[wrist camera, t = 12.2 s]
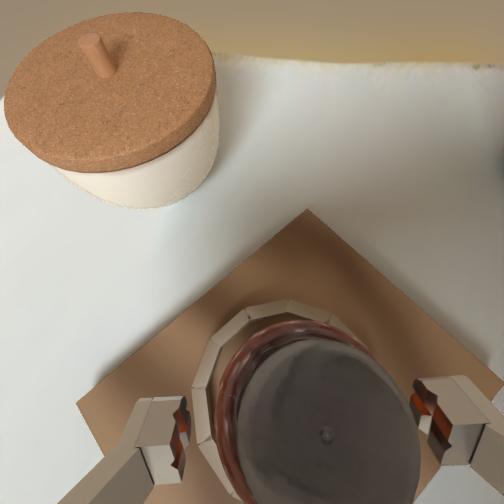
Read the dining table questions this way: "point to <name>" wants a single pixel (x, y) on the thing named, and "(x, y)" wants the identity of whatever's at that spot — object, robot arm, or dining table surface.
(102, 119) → the lidded bowl
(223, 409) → the supplement bottle
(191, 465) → the walnut seat board
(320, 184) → the dining table surface
